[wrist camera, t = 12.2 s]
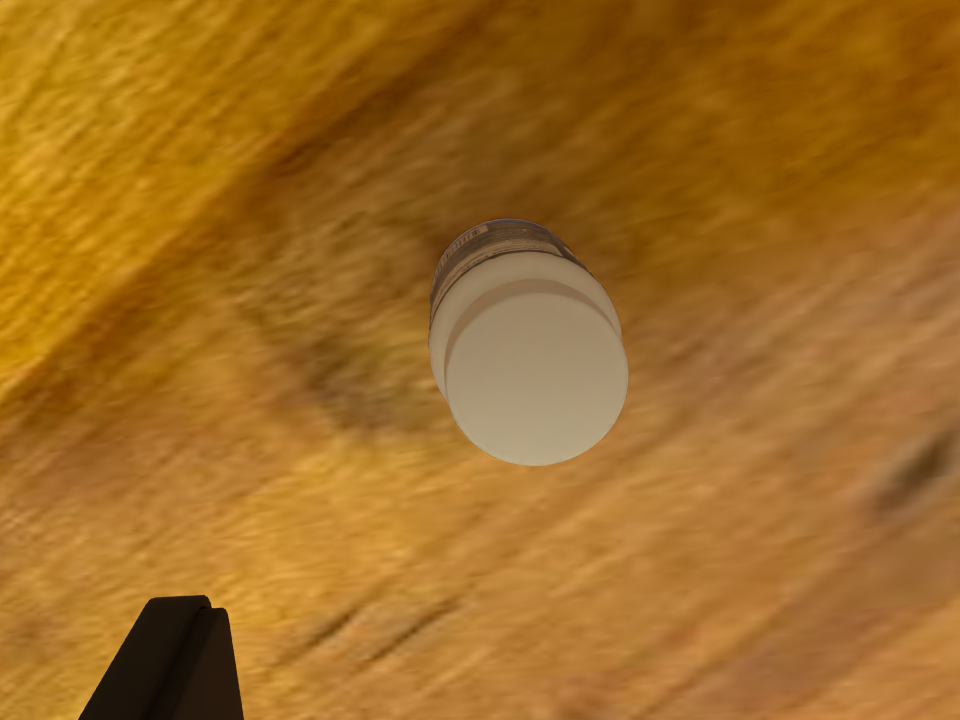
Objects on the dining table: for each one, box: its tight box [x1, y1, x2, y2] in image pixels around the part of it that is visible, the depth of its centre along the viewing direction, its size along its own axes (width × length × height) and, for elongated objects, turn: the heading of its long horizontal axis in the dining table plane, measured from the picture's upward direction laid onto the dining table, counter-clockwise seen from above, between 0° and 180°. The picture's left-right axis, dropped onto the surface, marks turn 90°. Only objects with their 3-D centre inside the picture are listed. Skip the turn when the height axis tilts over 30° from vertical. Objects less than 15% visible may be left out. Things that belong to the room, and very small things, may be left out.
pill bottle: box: [428, 219, 629, 466], centre depth 21 cm, size 5×5×8 cm
